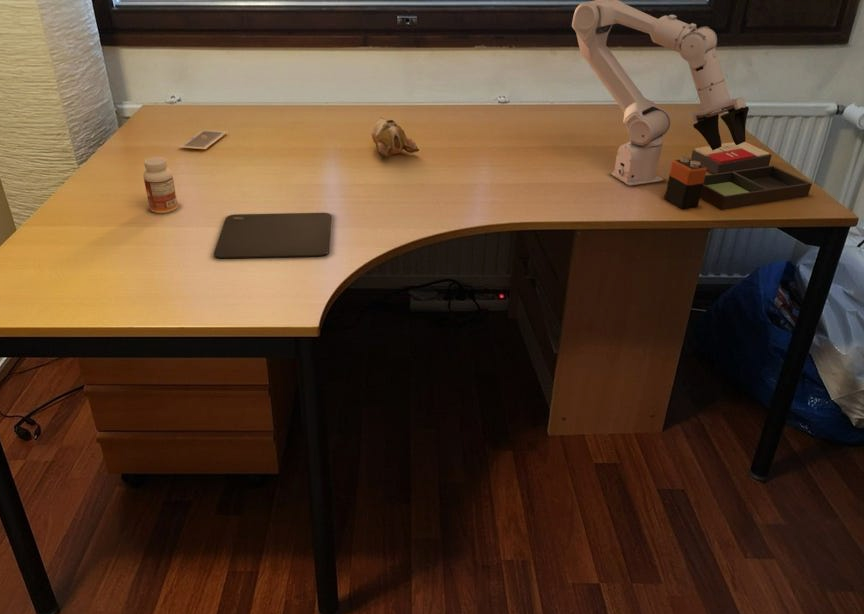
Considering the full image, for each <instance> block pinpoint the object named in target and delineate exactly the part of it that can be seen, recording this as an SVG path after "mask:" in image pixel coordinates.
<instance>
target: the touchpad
mask: <svg viewBox="0 0 864 614" xmlns="http://www.w3.org/2000/svg"><path fill="white" fill-rule="evenodd" d="M228 132H229V130H218V129H217V130H216V129H204V128H203V129H201V130H200V131H198V132H197V133H195V134H194V135H193V136H191V137H190V138H189V139H187V140H186V141H184V142H183V143H182V144H180V145H179V146H178V148H184V149H185V148H187V149H199V150H206V149H208V148H210V146H212V145H213V144H214V143H216V142H217V141H218V140H219V139H221V138H222V137H224V136H225V135H226V134H228Z"/></svg>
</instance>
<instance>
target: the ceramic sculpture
mask: <svg viewBox="0 0 864 614" xmlns="http://www.w3.org/2000/svg"><path fill="white" fill-rule="evenodd" d="M371 139H372V140H373V143H374V144H375V146H376V149H377V152H378V154H379V155H380V156H381V157H383V158H386V157H389V156H390V155H395V154H400V153H401V152H402V151H403V150H404V151H405V152H406V153H418V152H420V149H419V148H418V146H417V144H416V141H414V140H413V139H412V138H410V137H407V134H406V133H405V130H404V129H403V128H402V127H401V126H400V125H398V123H397V122H396V121H395V120H393V119H389V120H388V119H386V118H384V117H383V116H380V117H379V120H378V121H376V123H375V125H374V127H373V131H372V133H371Z"/></svg>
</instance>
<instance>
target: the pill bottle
mask: <svg viewBox="0 0 864 614" xmlns="http://www.w3.org/2000/svg"><path fill="white" fill-rule="evenodd" d="M143 164H144V168H145V171H144V172H143V181H144V186H145V191H146V197H147V202H148V207H149V210H150V211H151V212H153V213H156V214H167V213H170V212H173V211H175V210H176V209H177V208H178V199H177V193H176V187H175V186H176V185H175V181H174V175H173V172H172V170H171V169H170V168H168V160H167V159H166V158H165V157H161V156H155V157H154V156H153V157H150V158H147V159H145V160H144V162H143Z"/></svg>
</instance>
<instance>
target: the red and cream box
mask: <svg viewBox="0 0 864 614" xmlns="http://www.w3.org/2000/svg"><path fill="white" fill-rule="evenodd" d="M721 145H722V147H720V148H717V149H715V150H712V149H711V147H710V146H709V145H707V146H701V147H696V148H694V149H692V152H691V157H690V160H692V161H698V162H700V165H702V166H704V167H706V168H707V172H710V173H711V174H718V173H725V172H732V171H738V170H745V169H752V168H759V167H766V166H770V163H771V159H772V154H771V153H770V152H768V151H766V150H764V149H761V148H760V147H757V146H755V145H753V144H750V143H749V142H746V141H745V142H743V143H741V144H739V145H736V144H735V143H734V141H732V142H723V143H722V142H721Z"/></svg>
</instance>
